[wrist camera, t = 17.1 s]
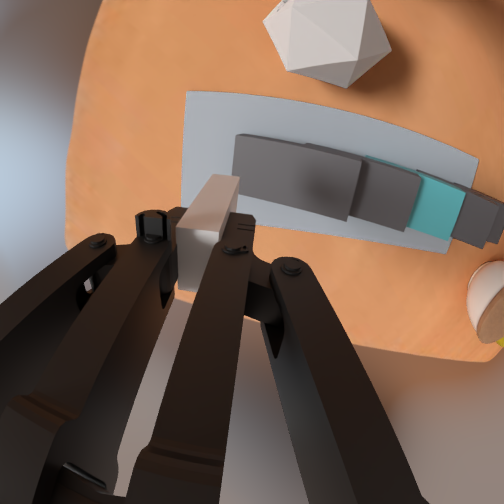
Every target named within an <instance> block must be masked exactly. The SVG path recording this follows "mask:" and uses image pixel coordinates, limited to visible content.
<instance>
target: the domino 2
mask: <svg viewBox="0 0 504 504" xmlns="http://www.w3.org/2000/svg"><path fill="white" fill-rule="evenodd" d="M305 145H309V146H314V147H318V148H322V149H326V150H331V151H335V152H339V153H342V154H346V155H350V156H354V157H357V158H361V160H362V163H361V168H360V172H359V176H358V180H357V184H356V188H355V192H354V196H353V200H352V204H351V208H350V211H349V215H348V216H352V217H355V218H359V219H362V220H365V221H369V222H372V223H375V224H379V225H382V226H385V227H388V228H391V229H394V230H398V231H401V232H404V231H405V228H406V225H407V222H408V219H409V216H410V213H411V210H412V207H413V204H414V201H415V198H416V195H417V192H418V188H419V185H420V181H421V177H420V176H419V175H418V174H416V173H413V172H411V171H408V170H405V169H402V168H399V167H396V166H393V165H390V164H386V163H383V162H380V161H377V160H373V159H370V158H367V157H363V156H360V155H356V154H352V153H349V152H345V151H341V150H337V149H333V148H329V147H325V146H321V145H316V144H312V143H306V144H305Z"/></svg>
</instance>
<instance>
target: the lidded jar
mask: <svg viewBox="0 0 504 504" xmlns="http://www.w3.org/2000/svg"><path fill="white" fill-rule="evenodd" d="M466 306H467V312H468V315H469V318H470V321H471V323H472V325H473V327H474V329H475V331H476V333H477V336H478V338H479V340H480V341H481V342H482V343H486V344H488V343H493V342H495V341H498V340H499V339H501V338H503V337H504V261H493V262H486V263H484V264H482V265H481V266H480V267H479V268H478V269H477V270H476V271H475V272H474V274H473V275H472V277H471V279H470V281H469V284H468V292H467V298H466Z"/></svg>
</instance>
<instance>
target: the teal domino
mask: <svg viewBox="0 0 504 504" xmlns="http://www.w3.org/2000/svg"><path fill="white" fill-rule="evenodd" d="M365 157H367V158H370V159H373V160H377V161H380V162H383V163H386V164H390V165H393V166H396V167H399V168H402V169H405V170H408V171H411V172H413V173H416V174H418V175H419V176H420V177H421V181H420V185H419V188H418V192H417V195H416V198H415V201H414V204H413V207H412V210H411V213H410V216H409V219H408V222H407V225H406V227H408V228H411V229H414V230H417V231H420V232H423V233H426V234H429V235H432V236H434V237H437V238H440V239H443V240H446V241H448V240H449V237H450V235H451V233H452V230H453V227H454V225H455V222H456V220H457V217H458V214H459V211H460V209H461V206H462V203H463V200H464V197H465V194H466V193H465V192H464V191H463V190H462V189H460V188H458V187H456V186H454V185H451V184H449V183H446V182H444V181H441V180H439V179H436V178H434V177H431V176H428V175H426V174H423V173H420V172H417V171H415V170H412V169H409V168H406V167H403V166H400V165H397V164H394V163H391V162H388V161H385V160H381V159H378V158H375V157H371V156H368V155H366V156H365Z"/></svg>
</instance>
